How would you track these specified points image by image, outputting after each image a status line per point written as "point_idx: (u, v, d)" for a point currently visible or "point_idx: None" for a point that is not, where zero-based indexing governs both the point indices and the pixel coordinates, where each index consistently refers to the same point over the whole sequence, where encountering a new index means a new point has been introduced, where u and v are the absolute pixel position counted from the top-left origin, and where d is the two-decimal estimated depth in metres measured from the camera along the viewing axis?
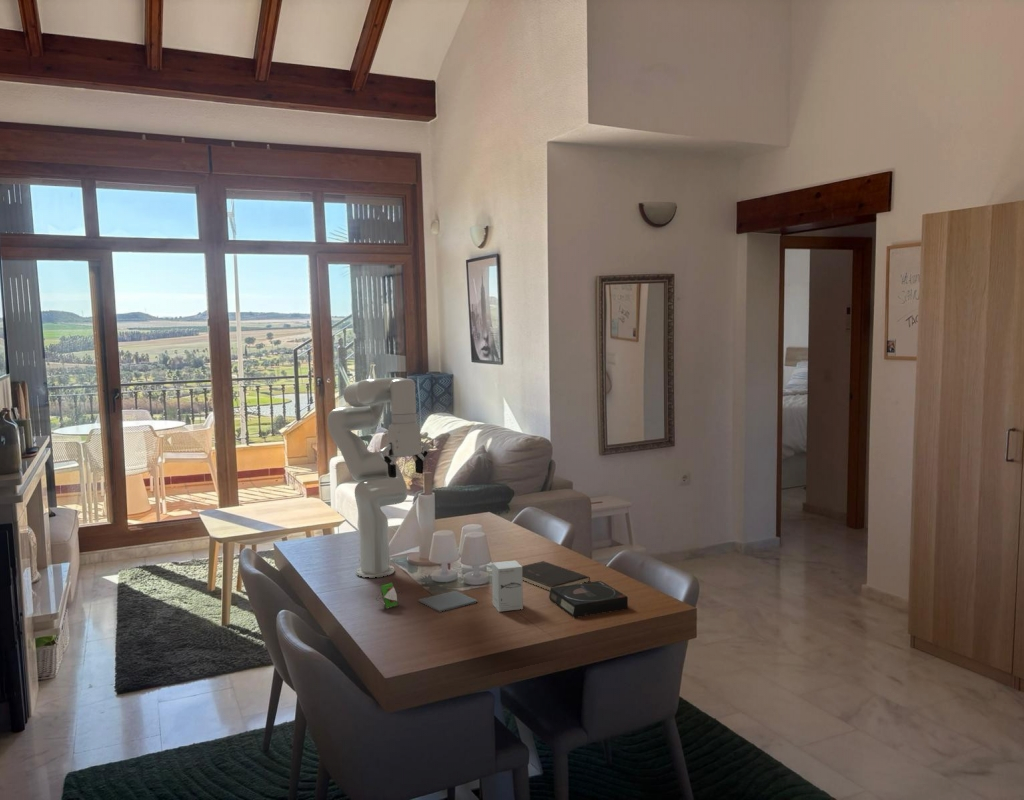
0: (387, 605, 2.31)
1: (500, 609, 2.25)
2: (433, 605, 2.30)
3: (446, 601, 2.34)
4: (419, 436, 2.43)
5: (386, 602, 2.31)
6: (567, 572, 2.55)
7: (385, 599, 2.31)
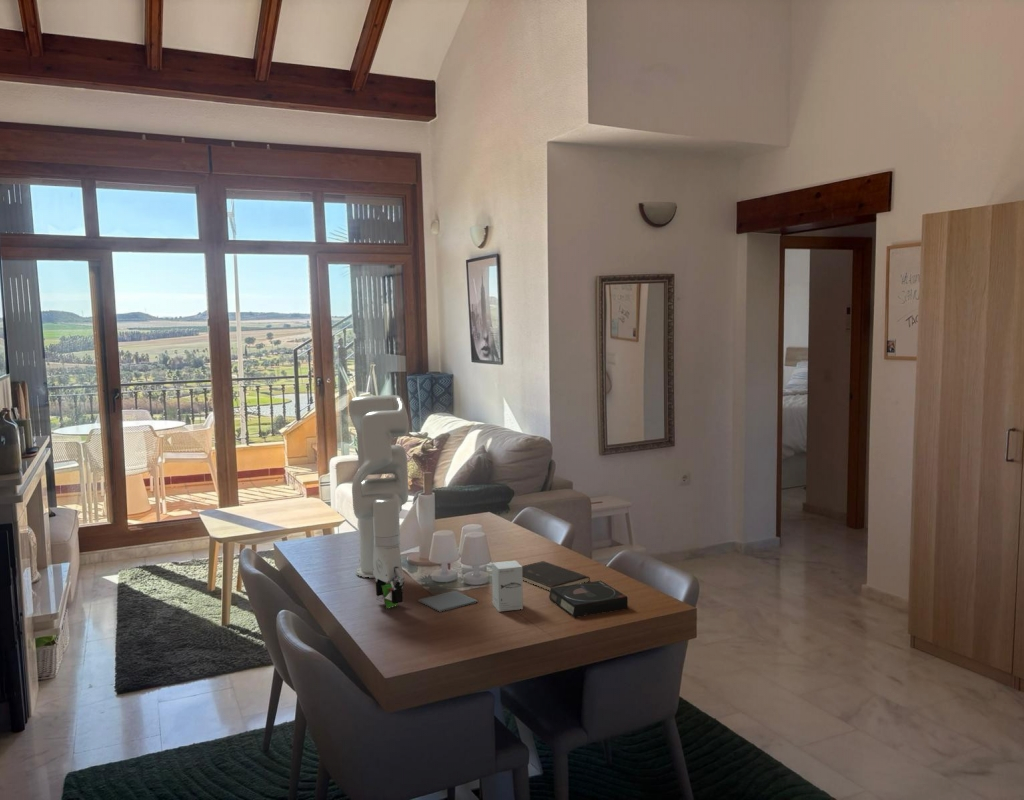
0: (387, 605, 2.30)
1: (500, 609, 2.25)
2: (433, 605, 2.30)
3: (446, 601, 2.34)
4: None
5: (387, 602, 2.31)
6: (567, 572, 2.55)
7: (386, 599, 2.31)
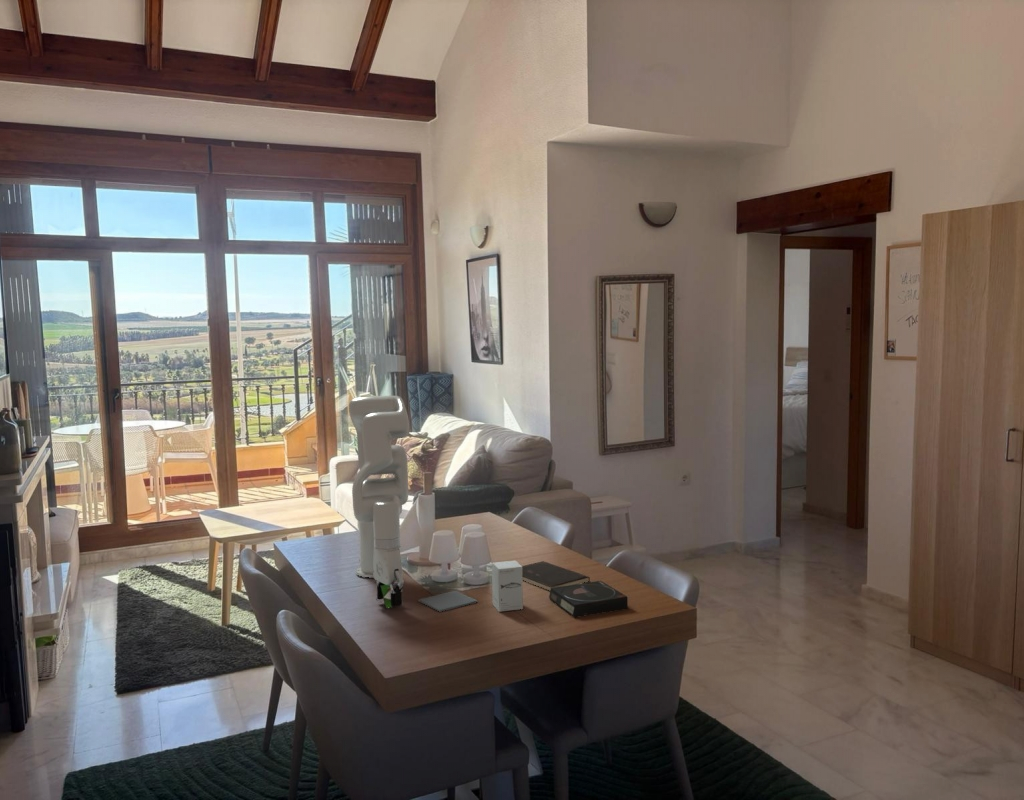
0: (387, 605, 2.31)
1: (500, 609, 2.25)
2: (433, 605, 2.30)
3: (446, 601, 2.34)
4: None
5: (386, 602, 2.31)
6: (567, 572, 2.55)
7: (385, 599, 2.31)
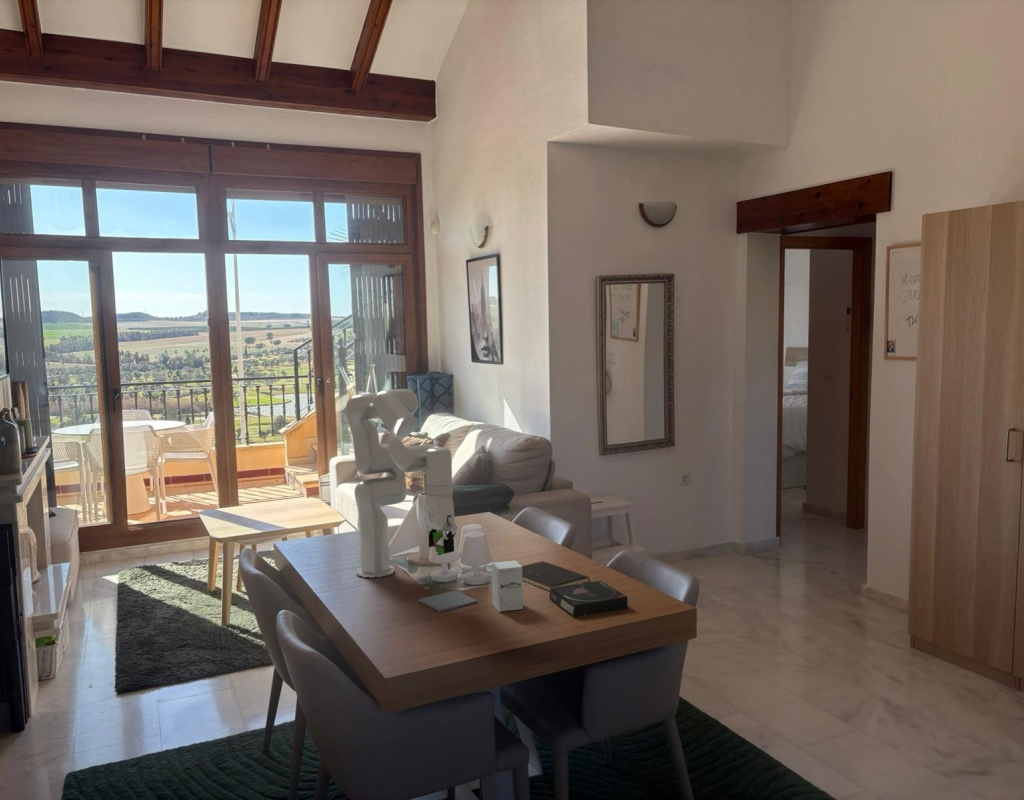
0: (439, 552, 2.32)
1: (500, 609, 2.25)
2: (433, 605, 2.30)
3: (446, 601, 2.34)
4: None
5: (438, 549, 2.32)
6: (567, 572, 2.55)
7: (437, 546, 2.32)
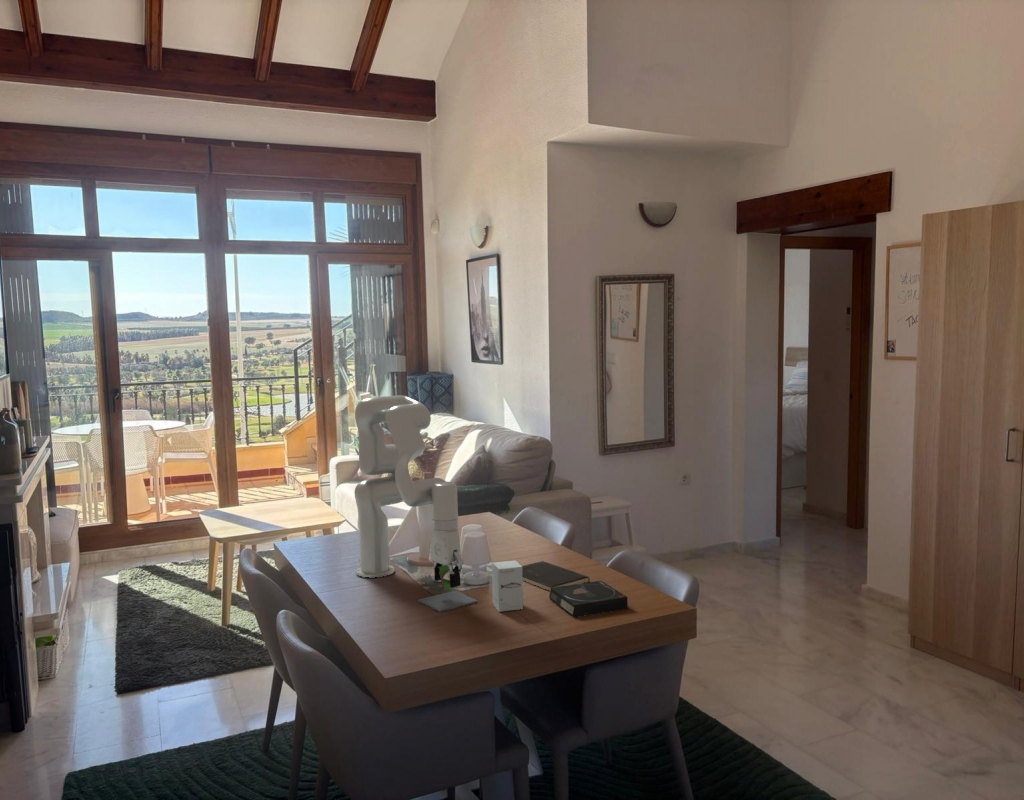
0: (445, 586, 2.33)
1: (500, 609, 2.25)
2: (433, 605, 2.30)
3: (446, 601, 2.34)
4: None
5: (444, 583, 2.33)
6: (567, 572, 2.55)
7: (443, 580, 2.33)
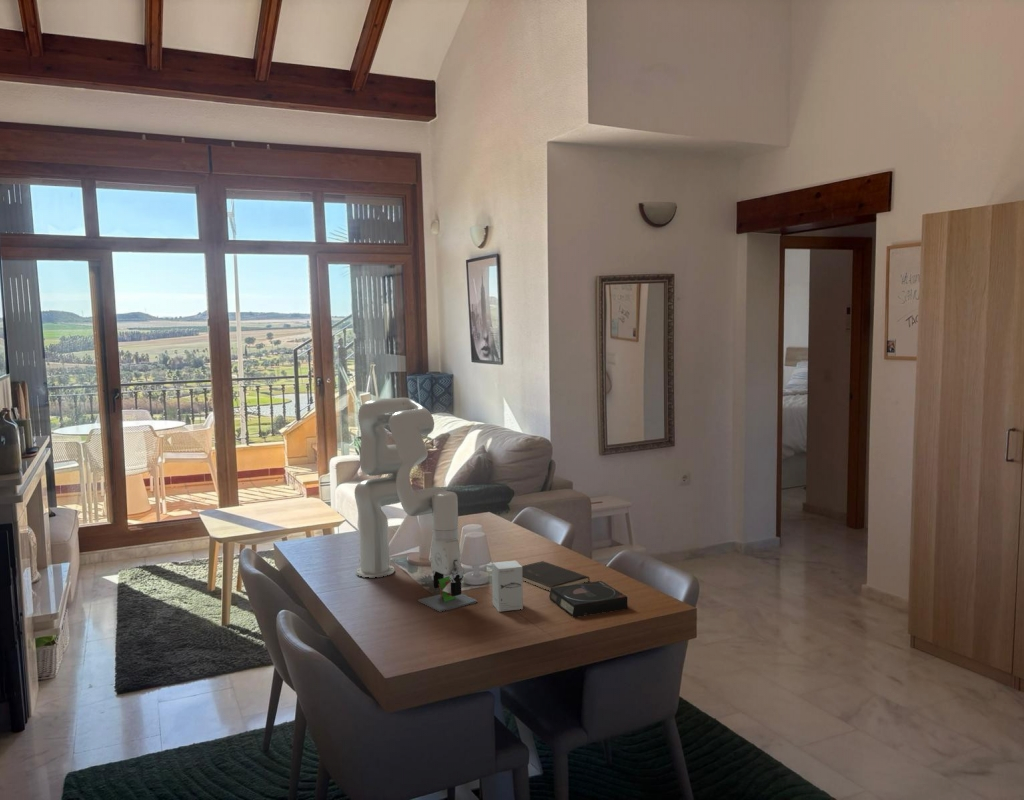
0: (445, 598, 2.33)
1: (500, 609, 2.25)
2: (433, 605, 2.30)
3: (446, 601, 2.34)
4: None
5: (444, 595, 2.34)
6: (567, 572, 2.55)
7: (443, 593, 2.34)
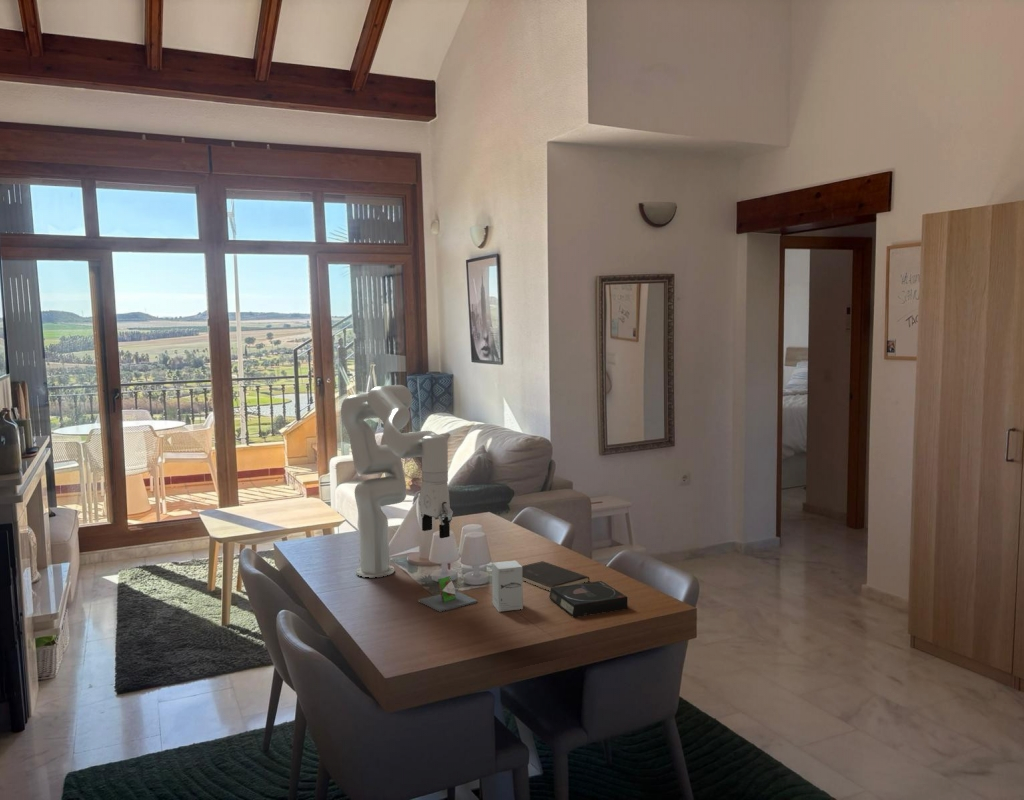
0: (445, 598, 2.33)
1: (500, 609, 2.25)
2: (433, 605, 2.30)
3: (446, 601, 2.34)
4: None
5: (444, 595, 2.34)
6: (567, 573, 2.55)
7: (443, 593, 2.34)
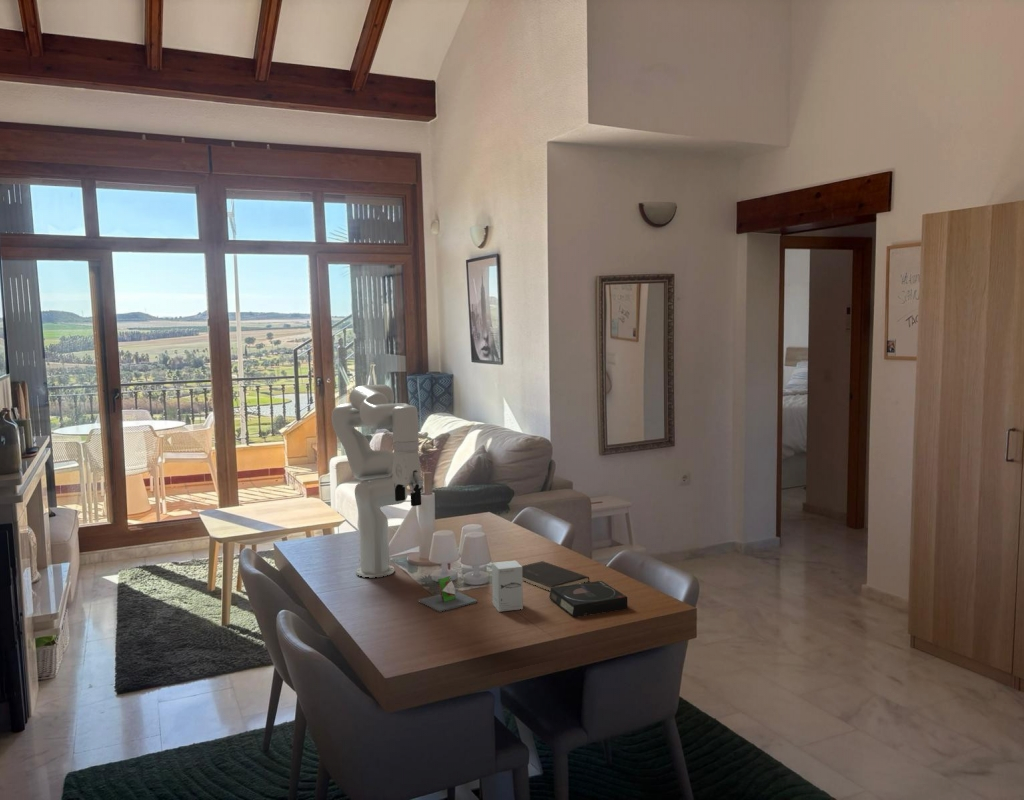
0: (445, 598, 2.33)
1: (500, 609, 2.25)
2: (433, 605, 2.30)
3: (446, 601, 2.34)
4: None
5: (444, 595, 2.34)
6: (567, 573, 2.55)
7: (443, 593, 2.34)
